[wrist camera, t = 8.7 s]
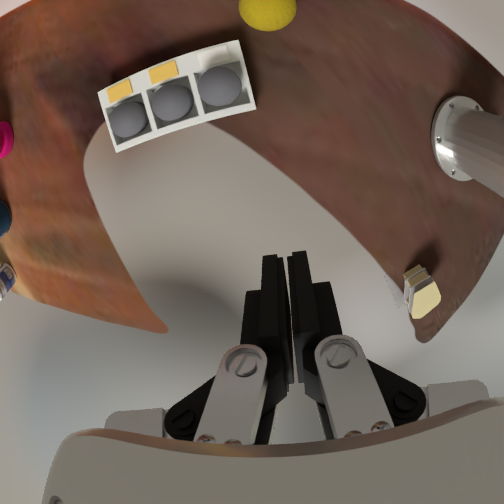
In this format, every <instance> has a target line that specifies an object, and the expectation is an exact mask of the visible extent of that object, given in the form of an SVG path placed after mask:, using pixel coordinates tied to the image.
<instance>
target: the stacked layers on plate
mask: <svg viewBox="0 0 504 504" xmlns="http://www.w3.org/2000/svg"><path fill="white" fill-rule="evenodd" d="M403 275H404V278H405V289H404V295H403V293H402V292H401V290H400V289H399V288H398V286H397V285H396V284H395V283H394V282H393V280H392V279H391V278H390V277H389V276H388V275H387V274H386V273H385V274H384V277H385V279H386V282H387V284H388V287H389V289H390V292H391V294H392V296H393V299H394V302H395V305H396V307H397V309H398V308H400V307H402V306H404V305H408V309H409V312H410V313H412V317H413V319H415V318H422V317H423V316H424V315H426V314H427V313H428V312H429V311H431V310H432V309H433V308H434V307H435V306H436V305H438V303H439V302H440V300H441V295H440V293H439V290H438V288H437V286H436V283H435V282H433V279H432V277H431V276H429V275H428V273H427V271H426V269H425V268H423V269H422V267H421V266H420V265H417V266H415V267H414V268H412V269H410V270H409V271H407V272H405V273H404V274H403Z"/></svg>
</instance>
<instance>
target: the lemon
mask: <svg viewBox="0 0 504 504" xmlns="http://www.w3.org/2000/svg"><path fill="white" fill-rule="evenodd" d="M296 9H297V6H296V0H240V1H239V12H240V15H241V17H242V18H243V20H244V21H245V22H246V23H247V24H248V25H249V26H251V27H253V28H255V29H258V30H261V31H275V30H278V29H281V28H283V27H285V26H287V25H288V24H289V23H290V22H291V21H292V20H293V18H294V16H295V14H296Z"/></svg>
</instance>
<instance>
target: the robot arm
mask: <svg viewBox="0 0 504 504" xmlns="http://www.w3.org/2000/svg"><path fill="white" fill-rule="evenodd" d="M431 141H432V148H433V152H434V156H435V158H436V161H437V163H438V165H439V166H440V168H441V169H442V170H443V171H444V172H445V173H446V174H447V175H449V176H450V177H452V178H454V179H456V180H459V181H468V180H471V179H473V178H474V179H475V180H477V181H478V182H480V183H482V184H483V185H485V186H487V187H488V188H490V189H491V190H493V191H494V192H496V193H497V194H499V195H500V196H502V197H503V198H504V117H501V116H498V115H495V114H491V113H488V112H484V110H483V109H482V108H481V106H480V105H479V104H478V103H477V102H476V101H474V100H473V99H471V98H469V97H465V96H458V95H457V96H452V97H450V98H448V99H446V100H445V101H444V102H443V103H442V104H441V105H440V106H439V108H438V109H437V111H436V114H435V116H434V119H433V123H432V130H431ZM287 261H288V273H289V286H290V301H291V313H290V304H289V297H288V290H287V284H286V283H287V282H286V276H285V269H284V262H283V257H280V258H278V257H277V254H274V255H266V256H263V260H262V280H261V290H252V291H247V292H246V297H245V305H244V314H243V323H242V332H241V341H240V345H238V346H235V347H233V348H232V349H230V350H228V351H227V352H226V353H225V354H224V356H223V358H222V360H221V362H220V365H219V368H218V371H217V374H216V375H215V376H214V377H213V378H211V379H210V380H209V381H207V382H206V383H205V384H203V385H202V386H201V387H199V388H198V389H196V390H195V391H193V392H192V393H191V394H189V395H188V396H187V397H185V398H184V399H182V400H181V401H179V402H178V403H176V404H175V405H174V406H172V407H171V408H170V409H168V410H164V409H163V408H156V409H145V410H132V411H118V412H114V413H113V414H111V415H110V416H109V417H108V418H107V420H106V423H105V428H94V429H86V430H81V431H78V432H75V433H72V434H70V435H69V436H67V437H66V438H65V439H64V440H63V442H62V443H61V445H60V446H59V449H58V450H57V453H56V455H55V457H54V460H53V462H52V465H51V468H50V471H49V475H48V478H47V482H46V486H45V490H44V495H43V500H42V504H504V397H494V398H489V394H488V391H487V388H486V386H485V385H484V384H483V383H482V382H480V381H479V380H467V381H459V382H451V383H441V384H429V385H428V386H427V387H418V386H417V385H416V384H414V383H412V382H410V381H408V380H406V379H404V378H402V377H400V376H398V375H397V374H395V373H393V372H391V371H389V370H387V369H385V368H383V367H381V366H379V365H378V364H375V363H374V362H372V361H370V360H368V359H366V357H365V355H364V352H363V350H362V348H361V346H360V344H359V343H358V342H357V341H356V340H355V339H353V338H352V337H349V336H346V335H343V334H342V329H341V325H340V321H339V316H338V312H337V308H336V304H335V300H334V295H333V292H332V288H331V284H330V282H320V283H314V284H312V280H311V275H310V269H309V264H308V258H307V253H306V251H298V252H292V256H288V257H287ZM291 316H292V328H291ZM292 331H293V340H294V348H295V356H296V364H297V373H298V381H299V383H304V384H305V394H306V395H308V396H309V397H311V398H312V399H314V400H315V403H316V407H317V411H318V415H319V419H320V423H321V427H322V431H323V435H324V439H325V441H316V442H307V443H295V444H278V445H277V444H276V445H271V444H272V440H273V435H274V430H275V425H276V419H277V414H278V408H279V402H280V401H281V400H282V399H283V398H285V397H286V396H287V392H288V391H289V384H293V383H294V368H293V347H292Z"/></svg>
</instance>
